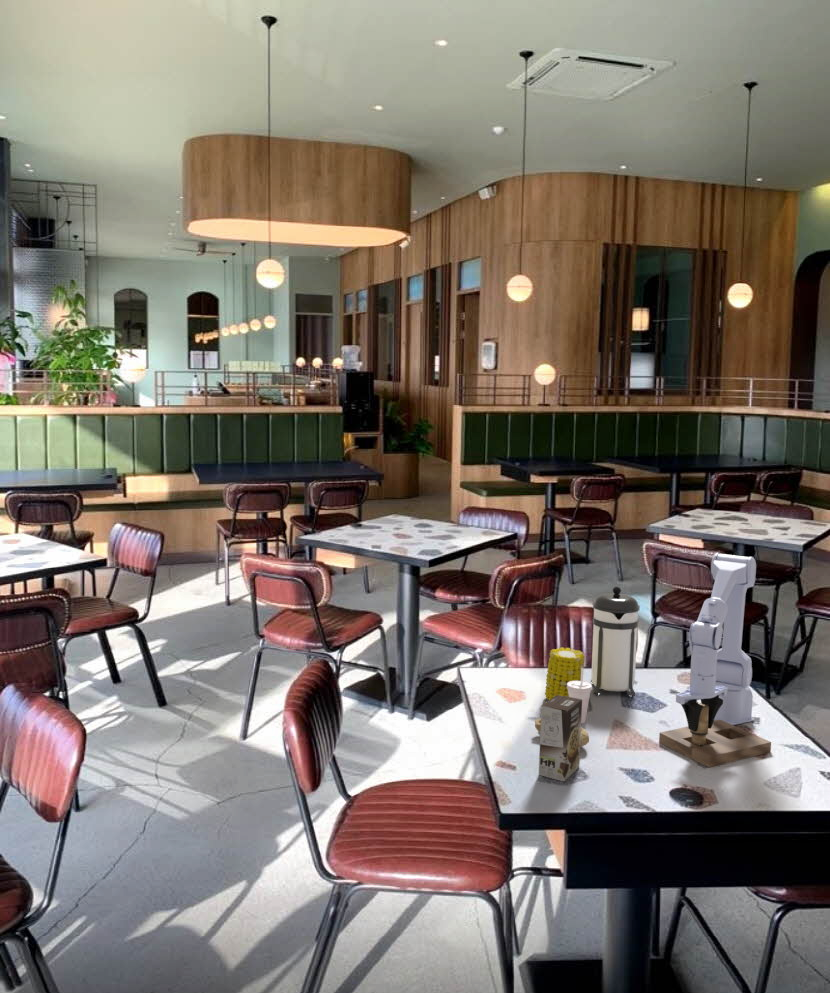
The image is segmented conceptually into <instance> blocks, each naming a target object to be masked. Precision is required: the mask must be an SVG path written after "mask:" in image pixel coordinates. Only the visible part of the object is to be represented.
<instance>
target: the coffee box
mask: <svg viewBox="0 0 830 993" xmlns="http://www.w3.org/2000/svg"><path fill="white" fill-rule="evenodd" d="M540 711H541V712H540V719H541V730H540V732H539V756H538V757H539V758H538V776H542V777H545V778H548V779H553V780H557V781H559V782H565V781H566V780H567V779H569V778H570V777H571V776H572V775H573V774H574V773H575V772H576V771H577V770H578V769H579V768H580V761H581V759H580V757H581V747H580V739H581V727H582V723H581V715H582V700H581V699H577V698H572V697H566V696H560V695H556V696H555V697H553V698H552V699H550V700H549V699H548V700H547V701H546V702H544V703H543V704H541V709H540Z"/></svg>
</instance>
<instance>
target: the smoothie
mask: <svg viewBox="0 0 830 993" xmlns="http://www.w3.org/2000/svg"><path fill="white" fill-rule="evenodd" d="M583 668H584V667H583ZM583 668H581V681H570V682H568V683H567V689H568V695H569V697H572V698H577V699H581V700H582V715H581V724H584V723H586V719H587V712H588V708H589V700H590V698H591V697H590V695H591V691H592V690H593V685H592V684H591V682H587V681H584V669H583Z"/></svg>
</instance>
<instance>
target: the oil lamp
mask: <svg viewBox="0 0 830 993" xmlns="http://www.w3.org/2000/svg"><path fill="white" fill-rule="evenodd" d="M534 723H535V724H534V727H535V729H536V730H537V731H538V733H540V730H541V718H537V719H535V721H534ZM589 742H590V735H589V733H588V732H587V730H586V729H585V728H583V727H582V726H581V739H580V748H581V747H584V746H586V745H588V744H589Z"/></svg>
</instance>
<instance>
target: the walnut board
mask: <svg viewBox="0 0 830 993" xmlns="http://www.w3.org/2000/svg"><path fill="white" fill-rule="evenodd" d="M658 743H659V744H661V745H663V746H665V747H667V748H669V749H671V750H673V751H674V752H677V753H678V754H681V755H683V756H685V757H687V758H689V759H691V760H693V761H695V762H697V763H698V764H701V765H703V766H704V767H706V768H712V767H716V766H720V765H724V764H728V763H732V762H736V760H737V761H740V759H741V760H745V759H748V758H753V757H756V756H760V755H763V754H764V755H765V754H770V753H771V751H772V750H771V749H772V741H770V740H767V739H765V738H763V737H761V736H759V735H756V734H754V733H752V732H749V731H747V730H744V729H743V728H740V727H738V726H737V725H731V724H729V723H727V722H724V721H722V720H716V721H715V720H714V721H713V724H712V727H711V728H710V729H709V728H708V734H707V735H706V744H705V745H696V744H693V743H692V733H691V732H690V729H689V727H688V726H685V727H680V728H676V729H671V730H670V729H669V730H666V731H661V732H659V735H658Z"/></svg>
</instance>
